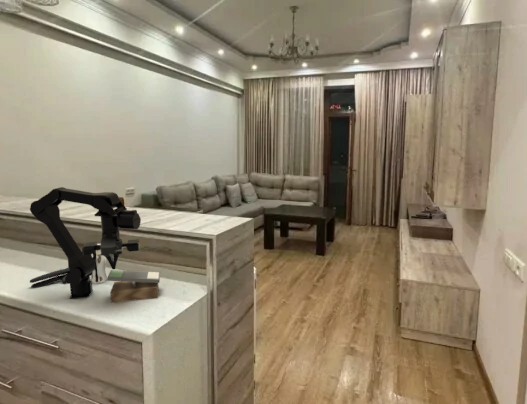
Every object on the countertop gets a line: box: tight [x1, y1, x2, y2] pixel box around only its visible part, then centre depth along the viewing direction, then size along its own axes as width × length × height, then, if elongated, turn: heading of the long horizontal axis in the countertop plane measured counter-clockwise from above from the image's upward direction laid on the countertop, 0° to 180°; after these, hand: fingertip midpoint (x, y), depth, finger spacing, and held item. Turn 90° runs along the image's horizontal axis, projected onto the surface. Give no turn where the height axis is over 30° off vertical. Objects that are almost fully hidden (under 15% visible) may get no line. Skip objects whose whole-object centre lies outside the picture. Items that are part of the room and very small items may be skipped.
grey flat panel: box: [106, 269, 161, 284], centre depth 133 cm, size 18×7×2 cm, turn 105°
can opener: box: [29, 266, 70, 289], centre depth 144 cm, size 18×7×6 cm, turn 121°
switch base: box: [110, 281, 159, 303], centre depth 133 cm, size 16×9×6 cm, turn 104°
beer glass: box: [90, 242, 108, 285], centre depth 145 cm, size 7×7×15 cm
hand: (113, 269), depth 130 cm, fingers closed
